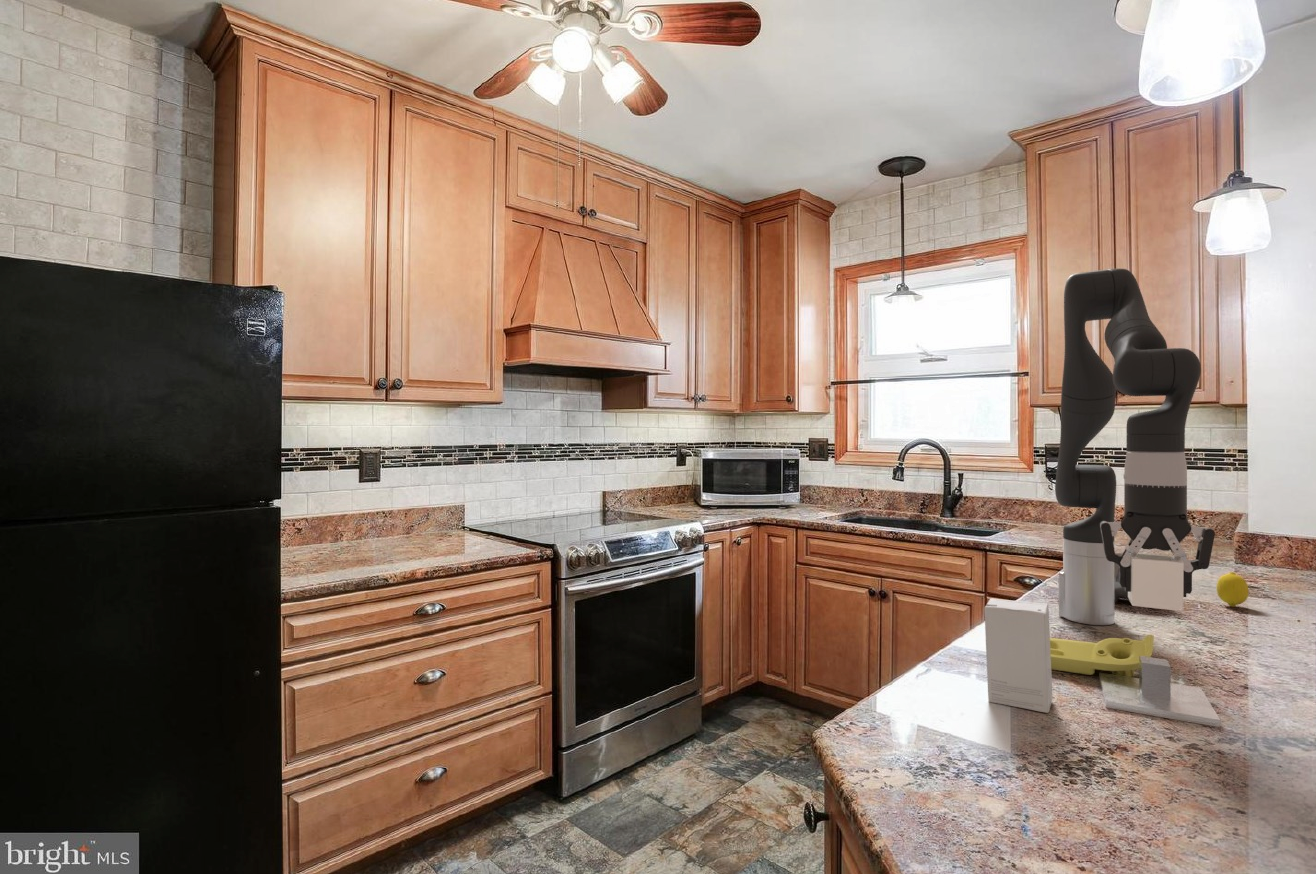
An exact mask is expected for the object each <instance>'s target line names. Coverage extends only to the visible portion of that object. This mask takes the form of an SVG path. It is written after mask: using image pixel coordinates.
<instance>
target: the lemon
mask: <svg viewBox="0 0 1316 874" xmlns="http://www.w3.org/2000/svg"><path fill="white" fill-rule="evenodd" d="M1249 590H1250V589H1249V586H1248V583H1247V581H1246V579H1245V578H1243V577H1242V576H1241V575H1239V574H1236V572H1232V571H1230V572H1229V573H1226V574H1223V575H1221V576H1219V578H1218V580H1217V583H1216V592H1217V595H1218V598H1219V599H1220V600H1221V601H1222V602H1224V603H1226V604H1228V606H1229V607H1232V608H1235V607H1236V606H1238V605H1241V604H1243V603H1245V602H1246V601H1247V600H1248V596H1249V594H1250V591H1249Z"/></svg>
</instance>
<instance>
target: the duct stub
mask: <svg viewBox="0 0 1316 874" xmlns="http://www.w3.org/2000/svg"><path fill="white" fill-rule="evenodd" d="M1138 676H1139V677H1138V678H1137V677H1133V676H1131V677H1126V676H1120V675H1116V674H1112V673H1105V672H1099V682H1100V687H1101V691H1102V696H1103V697H1102V698H1103V701H1104V704H1105V705H1104V706H1105V708H1107V709H1114V710H1119V711H1124V712H1130V713H1135V714H1136V713H1137V714H1141V715H1148V716H1153V717H1159V718H1165V719H1170V720H1176V721H1182V722H1186V723H1187V722H1188V723H1193V724H1198V725H1199V724H1200V725H1203V726H1204V725H1206V726H1210V727H1216V728H1221V719H1220V718H1219V716H1218V714H1217V712H1216V711H1215V709H1214V708H1213V705H1212V704H1211V702H1210V701H1209V699H1208V697H1207V695H1206V693H1205V692H1204V691H1203V689H1202V687H1199V686H1198V687H1197V686H1190V685H1184V684H1177V683H1173V682H1172V683H1171V678H1172V677H1171V665H1170V662H1169V661H1168V659H1164V658H1156V657H1152V656H1151V657H1144V656H1139V668H1138Z"/></svg>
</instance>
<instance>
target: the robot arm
mask: <svg viewBox="0 0 1316 874" xmlns="http://www.w3.org/2000/svg"><path fill="white" fill-rule="evenodd" d="M1063 291H1064V293H1063V317H1064V318H1063V324H1064V325H1063V326H1064V327H1063V329H1064V358H1063V371H1062V379H1061V380H1062V381H1061V382H1062V384H1061V391H1060V392H1061V395H1060V396H1061V397H1060V439H1059V440H1060V441H1059V448H1058V449H1059V450H1058V459H1057V465H1056V474H1055V483H1054V484H1055V485H1054V487H1055V490H1054V491H1055V498H1056V500H1057V501H1056V502H1058V505H1060V506H1062V507H1066V508H1067V507H1068V508H1079V509H1081V508H1082V509H1083V508H1085V509H1095V512H1094V513H1093V514H1092V515H1090V516H1088V517H1086V518H1084V519H1081V520H1078V521H1074V522H1070V523H1067V524H1065V525H1064V526H1063V529H1062V536H1063V537H1062V543H1063V544H1062V552H1063V553H1062V554H1063V555H1062V556H1063V557H1062V561H1063V562H1062V565H1063V566H1062V567H1063V568H1062V569H1063V570H1062V571H1060V572H1059V573H1058V617H1061V618H1065V620H1069V621H1072V622H1075V623H1079V624H1086V625H1092V626H1093V625H1094V626H1110V625H1113V624H1114V623H1115V603H1114V563H1116V564H1118V565H1119V582H1120V585H1121V587H1124V588H1125V591H1127V592H1131V567H1130V564H1131V557H1135V556H1136V555H1137V554H1138V553H1140V551H1141V549H1142V550H1155V549H1156V550H1160V551H1162V552H1163V551H1165V552H1169V551H1170V552H1171V553H1172V556H1174V557H1175V558H1177V560H1179V561H1182V562H1183V563H1184V566H1183V598H1187V595H1188V594H1190V595H1191V593H1192V591H1193V572H1195V571H1198V570H1199V571H1200V570H1207V569H1208V568H1209V566H1210V562H1211V558H1212V557H1211V556H1212V553H1213V548H1214V541H1215V535H1216V532H1215V530H1214V529H1213V528H1210V527H1208V526H1203V527H1201V526H1197V525H1191V523H1190V522H1189V520H1188V466H1187V460H1186V459H1187V458H1186V453H1185V452H1186V450H1185V449H1186V445H1185V443H1186V441H1185V440H1186V438H1185V437H1186V423H1187V418H1188V414H1189V411H1190V407H1191V405H1192V404H1191V403H1192V400H1193V398H1194V395H1195V392H1196V389H1197V388H1198V385H1199V382H1200V378H1201V374H1202V364H1201V362H1200V359H1199V357H1198V356H1197V355H1196V353H1195V352H1194V351H1192V350H1190V349H1189V348H1182V347H1175V348H1174V347H1172V348H1168V343H1167V341H1166V338H1165V337H1164V336H1163V335H1162V333H1161V331H1160V330H1159V329H1158V328H1157V327H1156V325H1155V324H1154V323H1153V321H1152V319H1151V318H1150V316H1149V314H1148V310H1147V306H1146V304H1145V303H1146V302H1145V299H1144V297H1143V294H1142V292H1141V289H1140V285H1139V283H1138V281H1137V279H1136V277H1135V275H1134V274H1133V273H1132V272H1131V271H1130V270H1129V269H1127V268H1121V267H1120V268H1109V269H1101V270H1100V269H1099V270H1092V271H1082V272H1077V273H1073V274H1071V275H1069V276H1068V277H1067V279H1066V282H1065V286H1064V290H1063ZM1101 320H1109V321H1108V322H1107V325H1106V327H1105V330H1104V342H1105V345H1106V347H1107V349H1108V351H1109V352H1110V354H1111V355H1112V357H1113V359H1114V365H1113V370H1110V368H1109V366H1108V365H1107V364H1106V363H1105V362H1104V360H1103V359H1102V358H1101V357H1100V356H1099V354H1098V352H1096V350H1095V349H1094V347H1093V345H1092V344H1091V342H1090V340H1089V339H1088V337H1087V332H1086V322H1090V321H1101ZM1117 391H1118V392H1120V393H1122V394H1123V395H1125V396H1130V397H1158V396H1159V397H1161V396H1162V397H1163V396H1164V397H1165V399H1164V400H1163V403H1162V404H1161V406H1159V407H1158V408H1156V409H1152V410H1147V411H1143V412H1135V413H1134V414H1131V415H1129V417H1128V418H1127V420H1126V453H1125V454H1126V455H1125V462H1124V473H1123V479H1124V486H1123V487H1124V493H1123V494H1124V495H1123V496H1124V501H1123V503H1124V506H1123V507H1124V511H1123V513H1124V514H1123V517H1122V518H1121V520H1120V521H1115V512H1116V511H1115V510H1116V498H1117V497H1116V496H1117V475H1116V472H1115V470H1114V468H1113V467H1111V466H1109V465H1104V464H1103V465H1101V464H1100V465H1098V464H1078V461H1079V459H1080V457H1081V455H1082V453H1083V452H1084V450H1085V448H1086V447H1087V445H1089V443H1090V442H1092V440H1093V439H1094V438H1095V437H1097V435H1098V434H1099V433H1100V432H1101V431H1102V430H1103V429H1104V428H1105V427H1106V425H1108V424H1109V422H1110V421H1111V419H1112V418H1113V415H1114V414H1115V410H1116V400H1117V399H1116V396H1117ZM1120 529H1122V530H1123V531H1124V533H1125V534H1126V535H1127V536H1128V537H1129V540H1128V543H1127V545H1125V548H1124V550H1123V552H1121V553H1122V555H1121V556H1120V555H1118V554H1115V553H1116V551H1115V537H1116V536H1117V535H1118V531H1119V530H1120ZM1190 533H1192V534H1193V538H1194V540H1196V541H1197V542H1198V544H1197V548H1196V555H1195V559H1190V560H1189V558H1188V557H1187V554H1186V553H1185V550H1184V549H1183V547H1182V546H1181V544H1180V543H1181V542H1182V541H1183V540H1184V539H1185V538H1186V537H1187V536H1188V535H1189V534H1190Z"/></svg>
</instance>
